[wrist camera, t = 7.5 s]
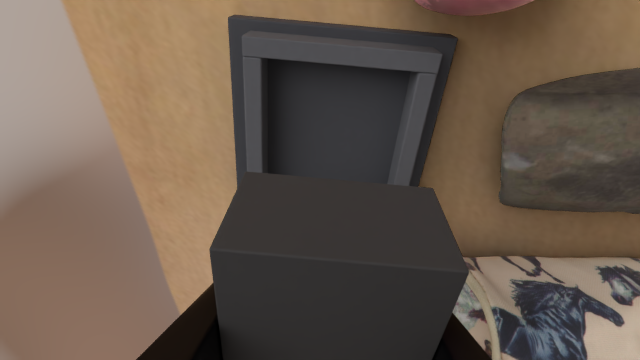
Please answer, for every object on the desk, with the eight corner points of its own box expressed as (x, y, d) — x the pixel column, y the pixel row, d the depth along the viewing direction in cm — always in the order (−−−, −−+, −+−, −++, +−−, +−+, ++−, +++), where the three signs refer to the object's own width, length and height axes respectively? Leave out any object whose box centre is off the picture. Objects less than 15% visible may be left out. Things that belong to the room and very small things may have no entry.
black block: (391, 329, 12) (405, 424, 10) (251, 316, 12) (227, 408, 10) (433, 187, 9) (470, 272, 7) (244, 170, 9) (208, 248, 7)
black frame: (406, 211, 21) (414, 238, 19) (242, 196, 21) (231, 221, 19) (452, 34, 16) (470, 44, 14) (233, 14, 16) (216, 21, 14)
